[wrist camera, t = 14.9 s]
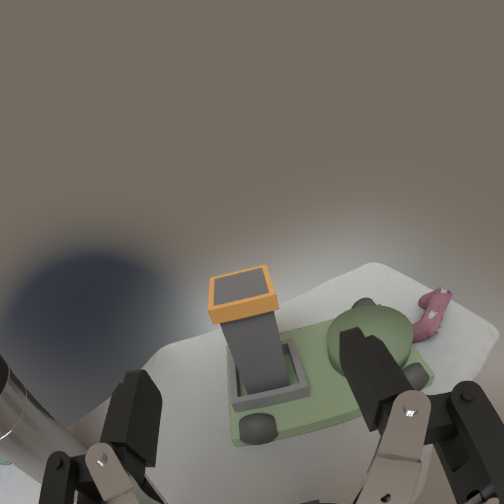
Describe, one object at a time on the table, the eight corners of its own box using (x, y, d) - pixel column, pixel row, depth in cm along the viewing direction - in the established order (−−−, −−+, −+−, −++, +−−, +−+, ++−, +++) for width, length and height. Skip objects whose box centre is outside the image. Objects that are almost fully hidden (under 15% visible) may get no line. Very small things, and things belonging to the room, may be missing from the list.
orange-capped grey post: (245, 402, 29) (207, 310, 24) (241, 367, 35) (210, 277, 29) (296, 390, 29) (275, 294, 24) (286, 356, 35) (266, 264, 29)
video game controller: (416, 356, 32) (445, 330, 27) (394, 338, 34) (420, 309, 29) (437, 316, 37) (460, 288, 32) (418, 300, 39) (439, 271, 34)
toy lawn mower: (236, 448, 25) (222, 428, 23) (230, 353, 40) (220, 329, 38) (431, 385, 25) (441, 359, 23) (378, 313, 40) (379, 287, 38)
